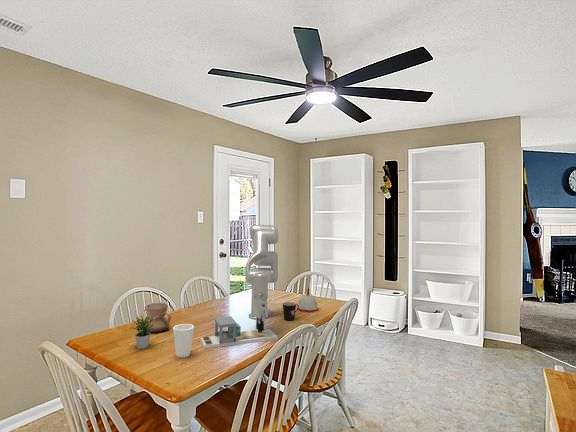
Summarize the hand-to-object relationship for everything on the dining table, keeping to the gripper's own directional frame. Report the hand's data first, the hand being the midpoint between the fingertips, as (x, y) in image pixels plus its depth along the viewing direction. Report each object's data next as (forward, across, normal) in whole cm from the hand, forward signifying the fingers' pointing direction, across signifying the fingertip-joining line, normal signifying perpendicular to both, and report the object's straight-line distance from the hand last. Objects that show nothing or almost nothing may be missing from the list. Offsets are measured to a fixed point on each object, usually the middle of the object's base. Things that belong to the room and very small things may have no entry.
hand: (259, 329), depth 188 cm
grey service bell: (+4, +42, -49) cm, 64 cm away
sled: (+2, 0, +9) cm, 9 cm away
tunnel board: (+4, 0, +11) cm, 12 cm away
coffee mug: (+4, +24, -29) cm, 38 cm away
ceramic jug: (+4, +30, +51) cm, 59 cm away
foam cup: (+4, -10, +41) cm, 42 cm away
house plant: (+4, +4, +58) cm, 58 cm away
